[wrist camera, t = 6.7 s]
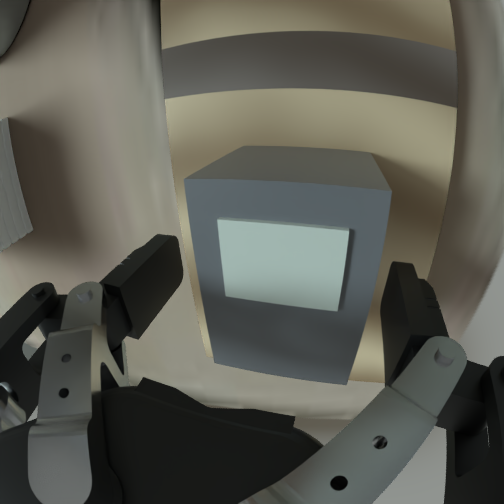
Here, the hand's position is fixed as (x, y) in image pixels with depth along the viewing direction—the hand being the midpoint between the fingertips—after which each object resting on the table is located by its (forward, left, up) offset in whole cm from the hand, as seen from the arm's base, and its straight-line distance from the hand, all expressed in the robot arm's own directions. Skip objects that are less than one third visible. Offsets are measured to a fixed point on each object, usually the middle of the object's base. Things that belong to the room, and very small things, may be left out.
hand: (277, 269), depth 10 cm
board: (+2, +2, -4) cm, 5 cm away
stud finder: (+1, 0, -3) cm, 3 cm away
